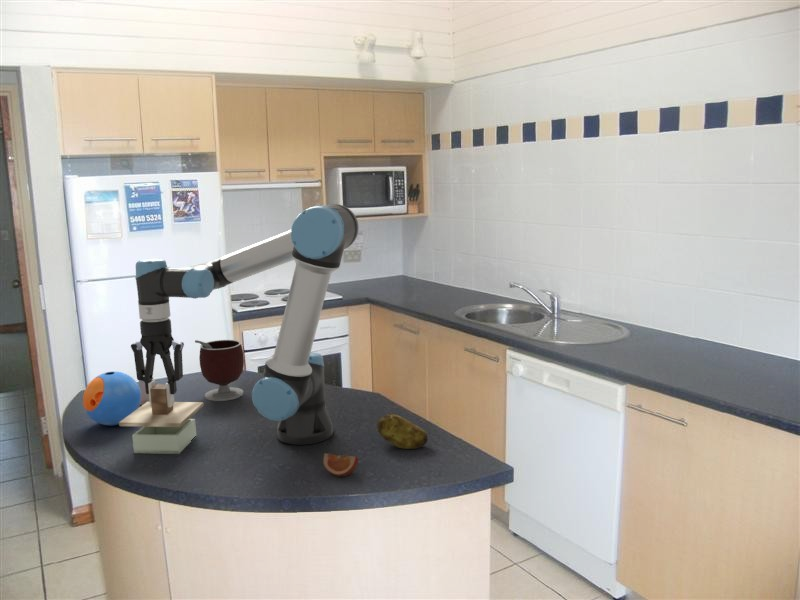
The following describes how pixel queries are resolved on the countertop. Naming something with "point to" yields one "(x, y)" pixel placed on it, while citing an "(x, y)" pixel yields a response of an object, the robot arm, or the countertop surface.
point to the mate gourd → (221, 367)
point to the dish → (164, 438)
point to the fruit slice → (339, 464)
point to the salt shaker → (143, 392)
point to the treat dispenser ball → (111, 398)
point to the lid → (161, 411)
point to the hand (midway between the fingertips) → (162, 405)
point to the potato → (401, 432)
